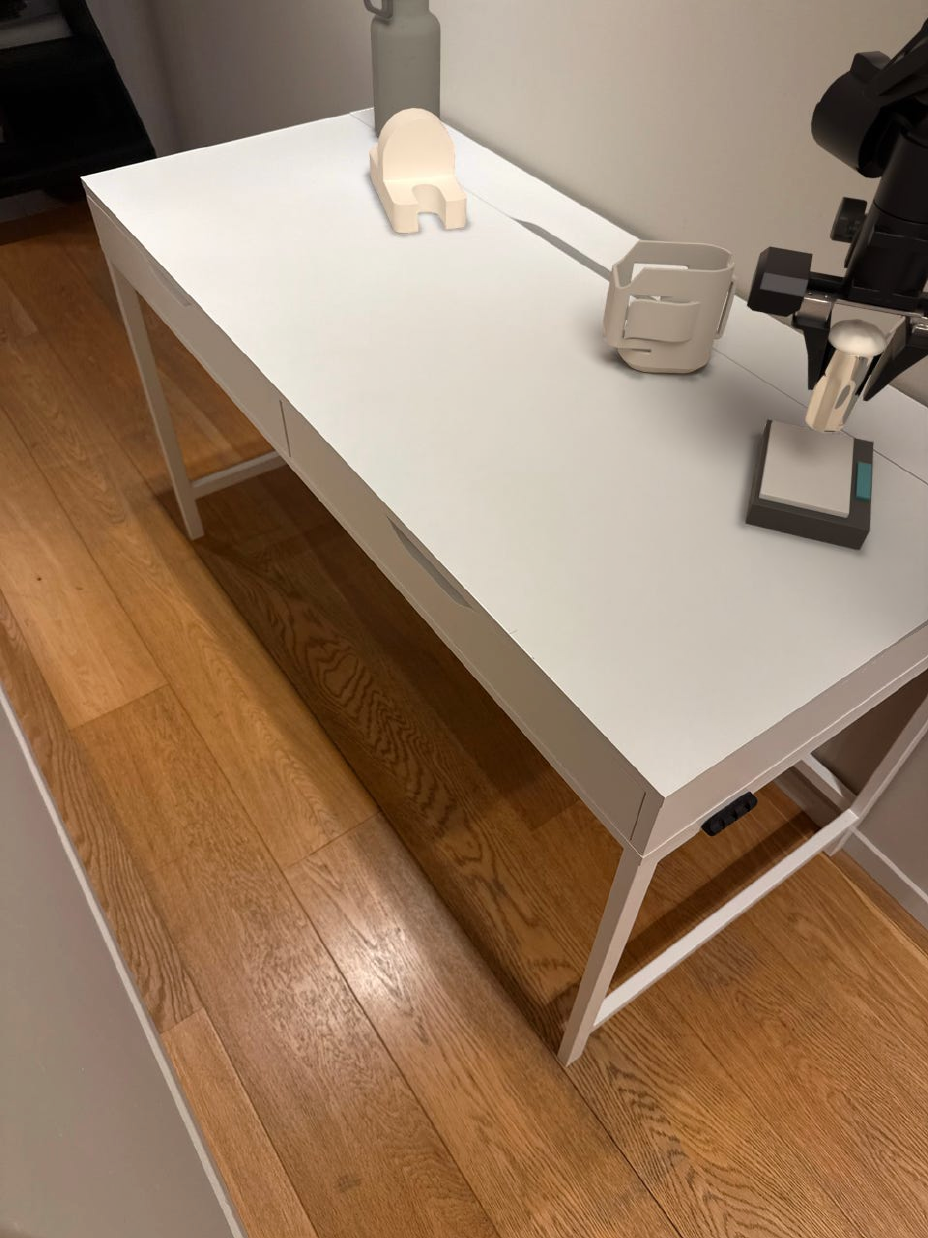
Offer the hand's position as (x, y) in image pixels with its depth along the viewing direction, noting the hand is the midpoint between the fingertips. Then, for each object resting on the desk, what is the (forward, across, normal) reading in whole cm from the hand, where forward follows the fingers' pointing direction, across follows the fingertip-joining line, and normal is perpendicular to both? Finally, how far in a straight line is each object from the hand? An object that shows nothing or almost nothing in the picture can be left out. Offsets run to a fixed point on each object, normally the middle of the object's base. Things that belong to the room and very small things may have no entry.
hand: (837, 392), depth 74 cm
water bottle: (+11, +63, -64) cm, 90 cm away
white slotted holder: (+11, +54, -44) cm, 70 cm away
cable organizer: (+11, +17, -16) cm, 26 cm away
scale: (+11, -1, 0) cm, 11 cm away
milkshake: (+3, 0, 0) cm, 3 cm away
